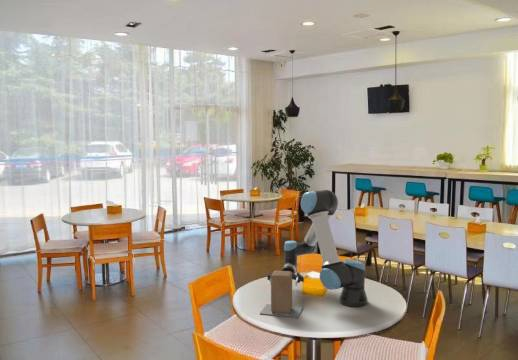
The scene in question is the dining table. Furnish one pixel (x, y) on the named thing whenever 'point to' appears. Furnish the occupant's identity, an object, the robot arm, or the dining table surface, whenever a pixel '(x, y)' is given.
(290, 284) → the block
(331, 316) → the dining table surface
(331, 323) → the dining table surface
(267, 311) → the letter board
